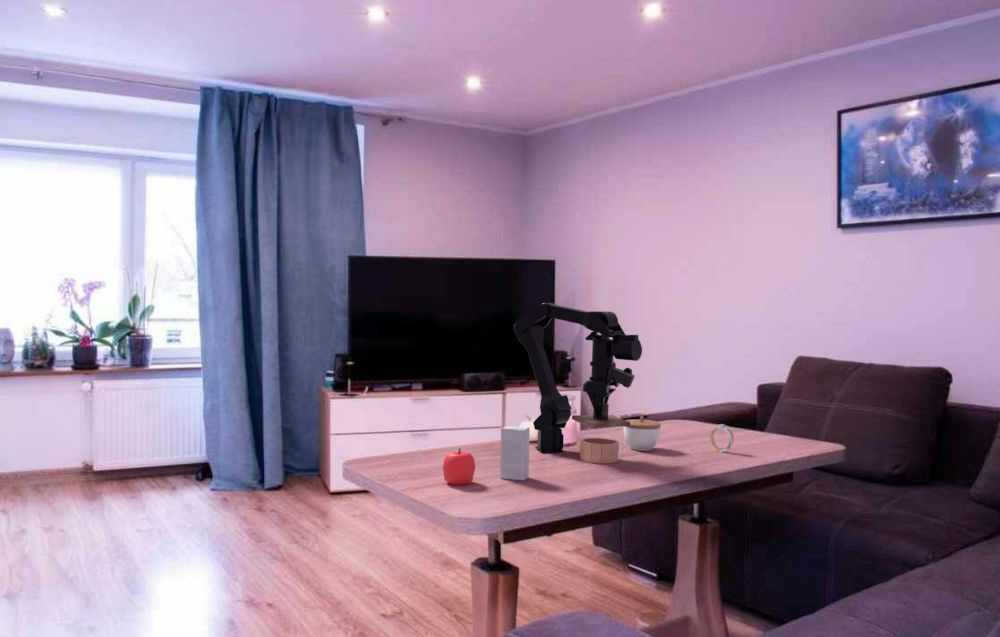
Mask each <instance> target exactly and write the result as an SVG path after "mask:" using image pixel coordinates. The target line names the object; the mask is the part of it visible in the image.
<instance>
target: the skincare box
mask: <svg viewBox="0 0 1000 637" xmlns="http://www.w3.org/2000/svg"><path fill="white" fill-rule="evenodd" d="M499 472H500V474H499V475H500V476H499V477H500V479H505V480H514V481H525V480H526V479H528V478H529V476H530V474H529V473H530V427H524V426H511V425H506V426H504V427H502V428H500V471H499Z"/></svg>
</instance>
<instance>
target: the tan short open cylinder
mask: <svg viewBox="0 0 1000 637" xmlns="http://www.w3.org/2000/svg"><path fill="white" fill-rule="evenodd" d="M579 445H580V446H579V448H580V450H579V457H580V460H581V461H583V462H586V463H590V464H599V465H601V464H604V465H605V464H606V465H607V464H614V463H618V461H619V454H620V453H619V451H620V450H619V449H620V446H619V445H620V441H618V440H616V439H612V438H606V437H586V438H582V439H580V444H579Z"/></svg>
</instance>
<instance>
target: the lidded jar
mask: <svg viewBox="0 0 1000 637" xmlns="http://www.w3.org/2000/svg"><path fill="white" fill-rule="evenodd" d="M644 418H645V417H644V416H640V417H639V419H634V418H633V419H625V420H626V421H628V422H630V426H622V427H623V431H622V432H623V438H624V441H625V443H626V444H627V445H628V446H629V447H630V448H629V449H631V450H633V451H642V452H643V451H644V452H645V451H646V452H648V451H651V450H652V449H653V448H654V447H656V445H657V443H658V442H659V438H660V433H661V422H659V421H657V420H651V419H644Z"/></svg>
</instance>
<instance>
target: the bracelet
mask: <svg viewBox="0 0 1000 637" xmlns="http://www.w3.org/2000/svg"><path fill="white" fill-rule="evenodd" d="M717 431H725V432H726V433H727V435H728V438H729V439H728V440H729V443H728V444H727V445H728V446H727V447H726V448H723V447H719V446H718V444H717V443H716V441H715V435H716V433H717ZM734 438H735V437H734V434H733V432H732V431H731V429H729V428H728V426H727V425H725V423H724V424H723V423H720V424H716V427H715V428H714V429H712V430H711V432H710V442H711V445H712V447H714V449H715V450H717V451H719V452H720V453H722V452H723V453H724V452H727V451H729V450H730V449H731V448H732V446H733V445H734Z"/></svg>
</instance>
